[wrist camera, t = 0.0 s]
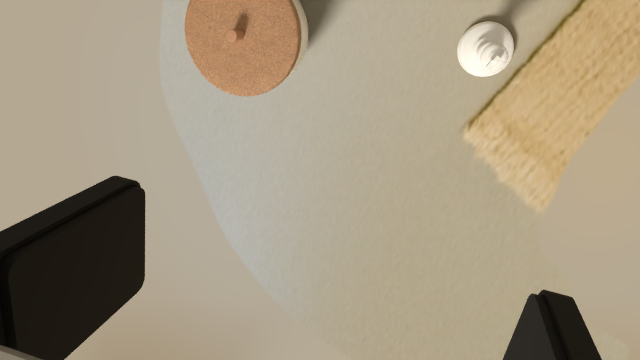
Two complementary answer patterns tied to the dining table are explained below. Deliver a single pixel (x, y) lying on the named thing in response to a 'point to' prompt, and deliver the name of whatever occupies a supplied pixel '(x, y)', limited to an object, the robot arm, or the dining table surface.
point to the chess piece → (485, 49)
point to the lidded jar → (246, 42)
